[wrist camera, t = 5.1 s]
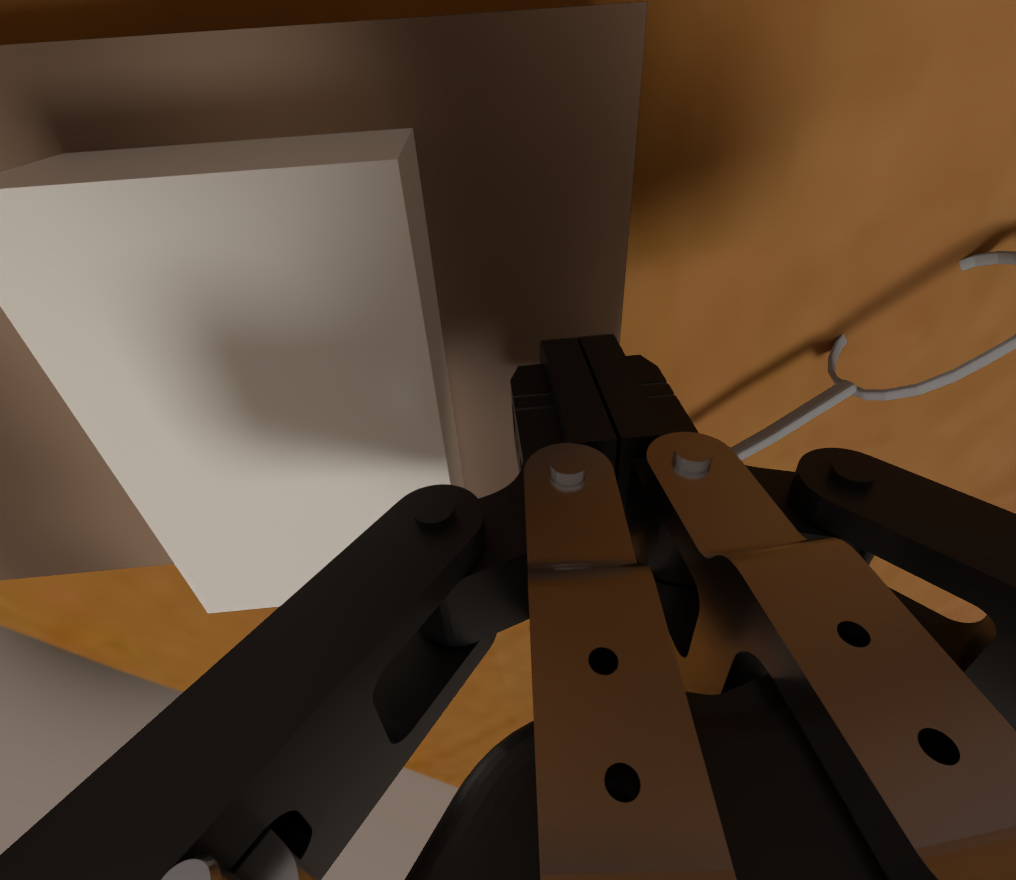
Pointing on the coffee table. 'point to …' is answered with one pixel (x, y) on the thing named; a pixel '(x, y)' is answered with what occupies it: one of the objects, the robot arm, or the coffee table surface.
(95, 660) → the coffee table surface
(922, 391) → the eyeglasses
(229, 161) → the cream rectangular block
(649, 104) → the coffee table surface
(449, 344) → the brown flat block
